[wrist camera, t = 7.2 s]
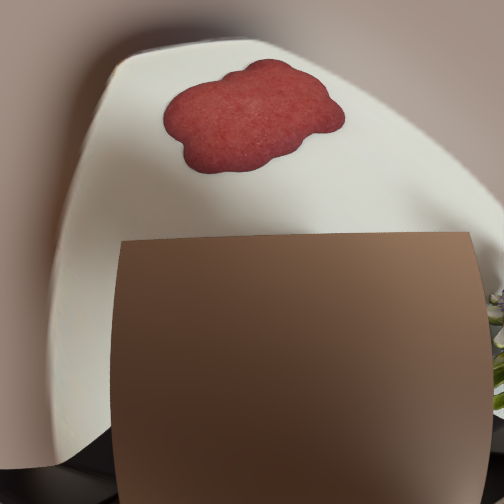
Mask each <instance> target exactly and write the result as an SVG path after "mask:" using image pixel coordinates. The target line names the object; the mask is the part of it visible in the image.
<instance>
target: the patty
mask: <svg viewBox="0 0 504 504" xmlns="http://www.w3.org/2000/svg"><path fill="white" fill-rule="evenodd" d="M344 122H345V115H344V112H343V110H342V108H341V107H340V106H339V105H338V104H337V103H336V102H335V101H333V100H332V99H331V98H330V97H329V94H328V91H327V89H326V87H325V86H324V85H323V84H322V83H321V82H320V81H319V80H318V79H317V78H315V77H314V76H312V75H310V74H308V73H306V72H302V71H299V70H297V69H294V68H292V67H291V66H290V65H289V64H287V63H285V62H283V61H280V60H274V59H263V60H258V61H255V62H254V63H252V64H250V65H249V66H248V67H247V68H246V69H245V70H243V71H235V72H230V73H229V74H227V75H226V76H224V78H223V79H222V80H220V81H213V82H207V83H202V84H199V85H196V86H193V87H191V88H189V89H187V90H185V91H183V92H182V93H180V94H178V95H177V96H176V97H175V98H174V99H173V100H172V101H171V102H170V104H169V105H168V107H167V108H166V111H165V113H164V125H165V128H166V131H167V132H168V134H169V135H171V136H172V137H173V138H174V139H176V140H177V141H180V142H182V143H183V145H184V158H185V161H186V163H187V164H188V166H189V167H191V168H192V169H194V170H196V171H197V172H200V173H206V174H214V173H220V172H248V171H252V170H256V169H258V168H260V167H262V166H264V165H265V164H267V163H268V162H269V161H270V160H271V159H273V158H276V157H280V156H284V155H287V154H290V153H292V152H294V151H296V150H297V149H298V147H299V146H300V145H301V144H302V141H303V140H304V139H305V138H306V137H308V136H309V135H311V134H313V133H331V132H335V131H337V130H338V129H340V128H341V127H342V126H343V124H344Z"/></svg>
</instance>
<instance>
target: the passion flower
mask: <svg viewBox="0 0 504 504" xmlns="http://www.w3.org/2000/svg"><path fill="white" fill-rule="evenodd" d="M502 292H503V293H502V296H497V295H494V294H491V299H490V301H491V303H492V305H493V306H490V307H487V313H488V320H489V324H492V325H496V326H503V327H502V329H501V330H500V331H499V332H498V334H497V335H496V336H495V337H494V339H493V341H494V344H495V346H496V347H498V348H499V349H500V350H504V289H503V291H502ZM493 383H494V389H495V388H497V387H498V386H499V385H501V384H503V383H504V351H503V352H502V353H501V354H499V355H498V356H497V357H496V358H495V359H494V360H493ZM501 408H504V392H502V393H500V394H498V395H494V402H493V410H499V409H501Z"/></svg>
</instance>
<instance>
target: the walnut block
mask: <svg viewBox="0 0 504 504" xmlns="http://www.w3.org/2000/svg"><path fill="white" fill-rule="evenodd" d="M493 402H494V383H493V359H492V346H491V336H490V328H489V320H488V313H487V307H486V301H485V296H484V290H483V285H482V280H481V276H480V271H479V267H478V263H477V259H476V255H475V251H474V248H473V244H472V241H471V237H470V234H469V232H389V233H330V234H290V235H256V236H227V237H201V238H177V239H155V240H134V241H122V243H121V249H120V256H119V263H118V270H117V278H116V287H115V296H114V306H113V318H112V333H111V355H110V409H111V430H112V444H113V455H114V465H115V473H116V481H117V488H118V494H119V500H120V504H480V503H481V499H482V494H483V490H484V485H485V480H486V475H487V469H488V462H489V455H490V447H491V438H492V425H493Z"/></svg>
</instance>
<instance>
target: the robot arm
mask: <svg viewBox="0 0 504 504" xmlns="http://www.w3.org/2000/svg"><path fill="white" fill-rule="evenodd" d="M0 504H120V500H119V494H118V488H117V481H116V473H115V465H114V455H113V444H112V430H111V427H110V428H109V429H108V430H106V431H105V432H104V433H103V434H102V435H100V436H99V437H98V438H97V439H95V440H94V441H93V442H92V443H90V444H89V445H88V446H86V447H85V448H84V449H82V450H81V451H80V452H78V453H77V454H76V455H75V456H73V457H72V458H70V459H69V460H67V461H65V462H63V463H61V464H58V465H55V466H48V467H38V468H26V469H0ZM480 504H504V419H502V418H500V417H498V416H496V415H494V414H493V425H492V438H491V447H490V455H489V462H488V469H487V475H486V480H485V485H484V490H483V494H482V499H481V503H480Z"/></svg>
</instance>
